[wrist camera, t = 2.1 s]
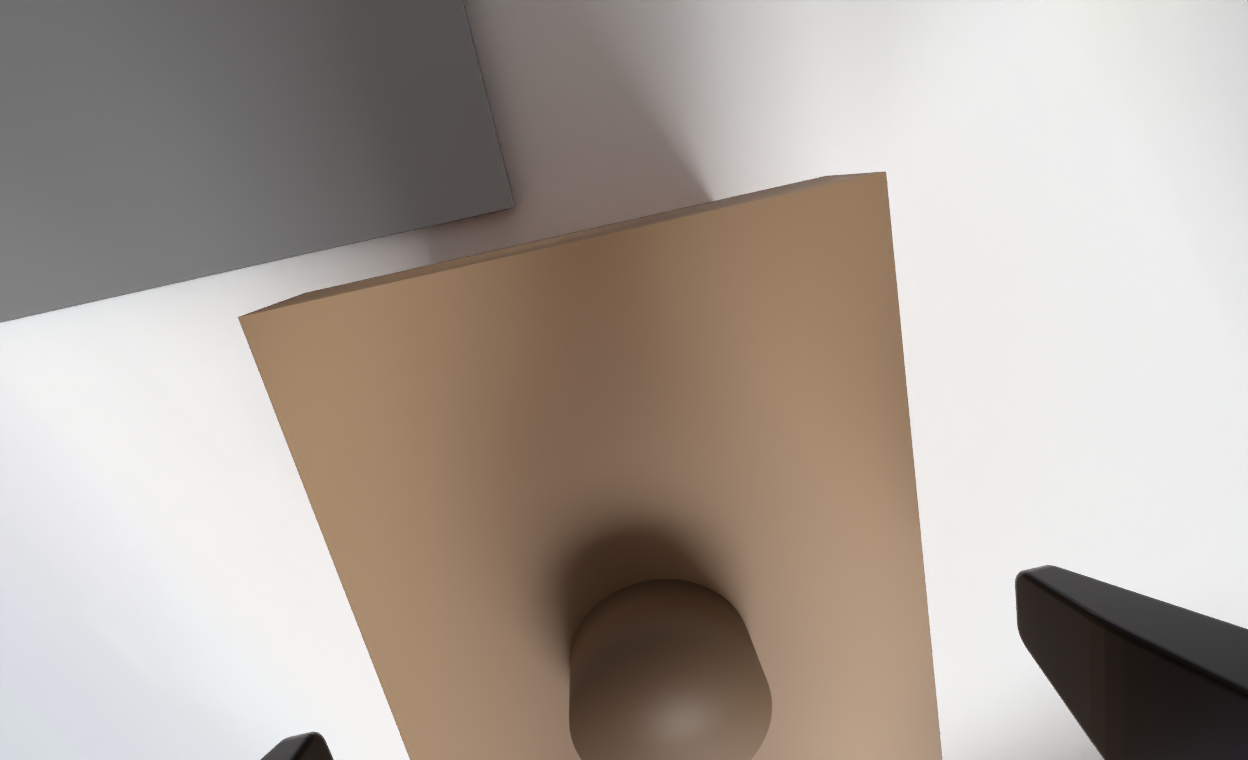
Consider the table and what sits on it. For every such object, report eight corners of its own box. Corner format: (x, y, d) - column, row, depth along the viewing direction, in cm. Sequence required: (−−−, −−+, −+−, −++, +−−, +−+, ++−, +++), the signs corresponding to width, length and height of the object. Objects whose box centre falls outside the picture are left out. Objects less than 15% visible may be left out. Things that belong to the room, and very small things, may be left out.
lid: (826, 175, 9) (933, 167, 6) (900, 794, 12) (994, 968, 9) (304, 293, 9) (185, 336, 6) (514, 883, 12) (496, 1083, 9)
